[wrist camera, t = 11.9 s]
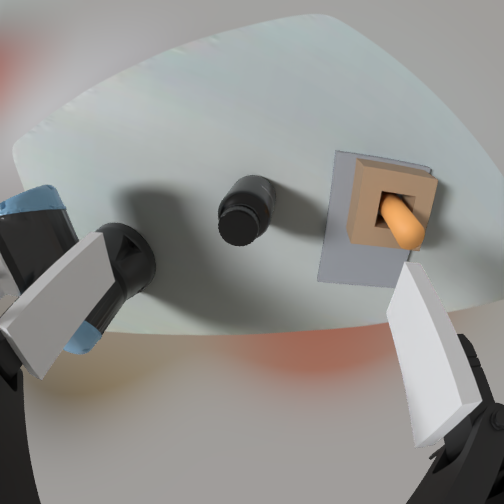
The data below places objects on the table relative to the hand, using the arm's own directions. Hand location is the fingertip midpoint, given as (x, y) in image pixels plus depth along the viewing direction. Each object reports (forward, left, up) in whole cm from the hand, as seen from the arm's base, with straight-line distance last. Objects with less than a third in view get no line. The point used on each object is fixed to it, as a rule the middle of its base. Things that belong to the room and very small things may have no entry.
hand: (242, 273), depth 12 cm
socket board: (+15, -11, -32) cm, 37 cm away
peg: (+16, -6, -31) cm, 35 cm away
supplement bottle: (-4, -8, -32) cm, 33 cm away
